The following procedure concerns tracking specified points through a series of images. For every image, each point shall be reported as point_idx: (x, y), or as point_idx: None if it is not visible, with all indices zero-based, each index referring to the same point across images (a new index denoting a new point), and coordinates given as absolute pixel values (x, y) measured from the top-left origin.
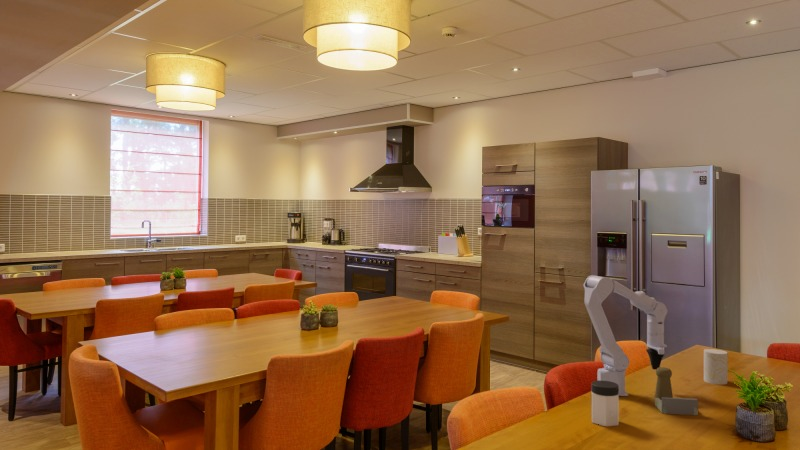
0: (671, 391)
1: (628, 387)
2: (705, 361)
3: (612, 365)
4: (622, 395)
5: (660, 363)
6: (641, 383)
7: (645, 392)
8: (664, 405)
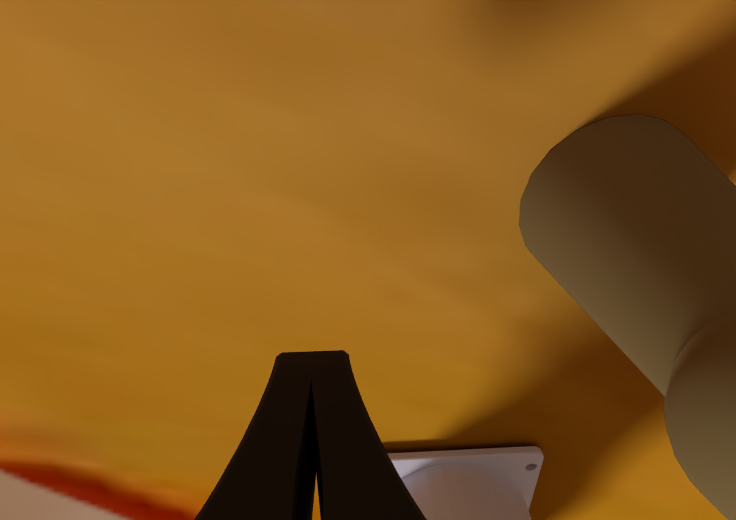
0: (734, 185)
1: None
2: None
3: None
4: (536, 478)
5: (372, 433)
6: (71, 282)
7: (411, 313)
8: None
